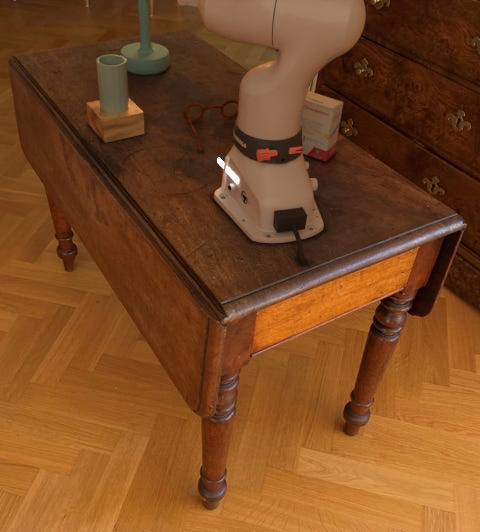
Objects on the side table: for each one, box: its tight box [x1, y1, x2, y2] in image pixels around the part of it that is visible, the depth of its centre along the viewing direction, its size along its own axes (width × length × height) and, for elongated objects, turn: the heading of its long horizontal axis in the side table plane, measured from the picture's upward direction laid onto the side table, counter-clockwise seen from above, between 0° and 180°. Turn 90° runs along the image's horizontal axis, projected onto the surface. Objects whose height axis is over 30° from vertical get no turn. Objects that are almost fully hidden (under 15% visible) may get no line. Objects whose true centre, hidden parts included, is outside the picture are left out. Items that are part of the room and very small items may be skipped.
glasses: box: [182, 99, 239, 153], centre depth 129 cm, size 13×13×5 cm
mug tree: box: [119, 0, 171, 76], centre depth 147 cm, size 12×12×25 cm
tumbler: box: [95, 53, 130, 113], centre depth 123 cm, size 6×6×10 cm
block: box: [85, 98, 145, 144], centre depth 128 cm, size 9×9×5 cm
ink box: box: [301, 90, 344, 162], centre depth 124 cm, size 9×5×12 cm, turn 57°
